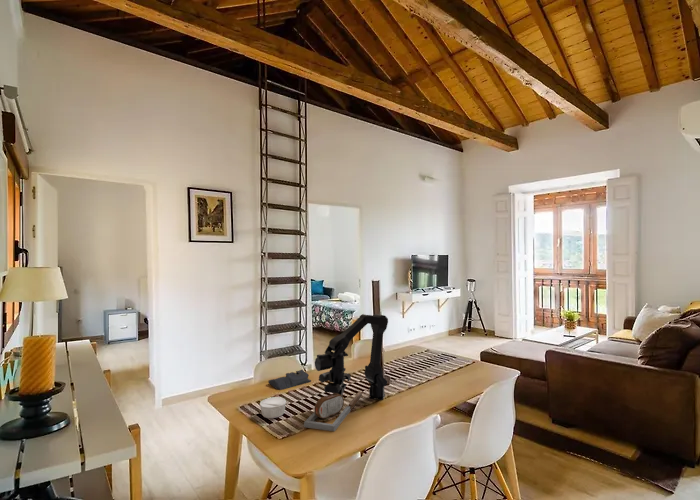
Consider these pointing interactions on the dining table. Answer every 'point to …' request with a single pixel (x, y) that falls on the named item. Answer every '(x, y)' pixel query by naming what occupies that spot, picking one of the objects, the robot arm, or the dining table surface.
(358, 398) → the pair of brown bars
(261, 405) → the ramekin
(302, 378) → the dark slate chunk
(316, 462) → the dining table surface
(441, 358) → the dining table surface
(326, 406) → the tin
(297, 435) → the dining table surface
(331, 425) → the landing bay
